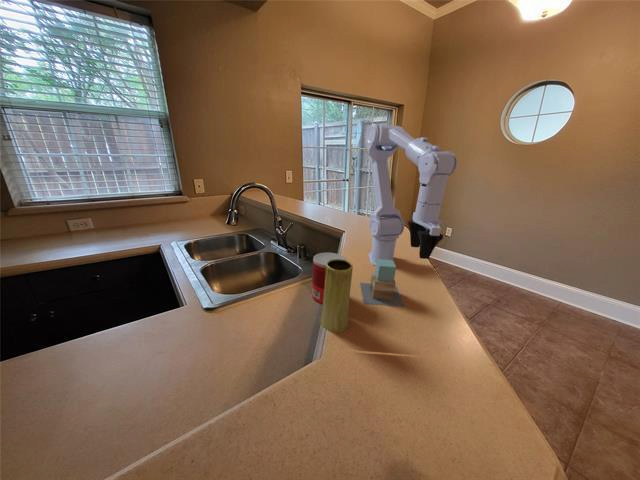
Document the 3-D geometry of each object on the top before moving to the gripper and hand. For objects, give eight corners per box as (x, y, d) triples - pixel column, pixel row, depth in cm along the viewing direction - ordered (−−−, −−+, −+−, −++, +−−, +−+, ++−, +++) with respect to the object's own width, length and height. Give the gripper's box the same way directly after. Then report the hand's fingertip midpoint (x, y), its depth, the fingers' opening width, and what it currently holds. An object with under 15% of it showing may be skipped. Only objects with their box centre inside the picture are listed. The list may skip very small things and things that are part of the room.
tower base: (369, 288, 68) (371, 280, 67) (388, 289, 67) (389, 281, 66) (372, 298, 63) (373, 290, 62) (392, 299, 63) (394, 291, 62)
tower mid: (371, 280, 67) (372, 271, 66) (389, 281, 66) (391, 272, 66) (373, 290, 62) (375, 281, 61) (394, 291, 62) (395, 282, 61)
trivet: (359, 284, 70) (359, 282, 70) (395, 286, 70) (395, 285, 70) (363, 305, 61) (363, 303, 61) (404, 307, 60) (405, 306, 60)
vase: (351, 318, 56) (357, 261, 51) (344, 336, 50) (351, 274, 45) (325, 312, 57) (329, 255, 52) (316, 328, 52) (319, 268, 47)
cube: (374, 272, 65) (376, 259, 64) (390, 273, 65) (392, 260, 64) (377, 280, 62) (379, 265, 60) (393, 281, 61) (396, 267, 60)
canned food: (341, 309, 59) (344, 267, 55) (308, 304, 60) (309, 263, 56) (344, 292, 66) (348, 254, 62) (315, 287, 67) (316, 250, 63)
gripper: (459, 210, 55) (445, 265, 60) (434, 197, 69) (424, 243, 74) (427, 208, 55) (416, 263, 60) (408, 196, 69) (400, 241, 74)
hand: (419, 252), depth 67 cm, fingers open, 7 cm apart
